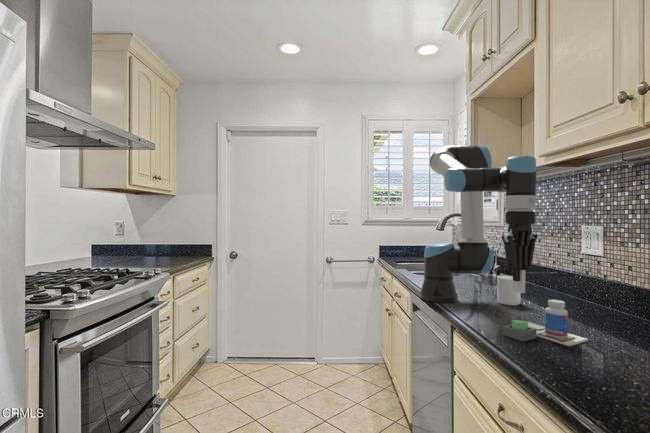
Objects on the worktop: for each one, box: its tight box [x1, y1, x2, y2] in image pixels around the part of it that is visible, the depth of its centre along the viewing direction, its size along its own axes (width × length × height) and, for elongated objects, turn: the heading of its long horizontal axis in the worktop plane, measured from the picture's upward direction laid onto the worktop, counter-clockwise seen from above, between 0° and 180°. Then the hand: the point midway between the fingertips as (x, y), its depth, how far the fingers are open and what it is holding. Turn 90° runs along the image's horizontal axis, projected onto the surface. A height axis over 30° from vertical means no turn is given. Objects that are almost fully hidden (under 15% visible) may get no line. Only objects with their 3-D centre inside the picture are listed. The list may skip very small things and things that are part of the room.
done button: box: [511, 319, 528, 331], centre depth 99 cm, size 4×4×4 cm
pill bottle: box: [544, 299, 569, 338], centre depth 97 cm, size 6×5×10 cm
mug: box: [496, 275, 522, 306], centre depth 139 cm, size 12×8×10 cm
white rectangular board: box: [526, 321, 589, 347], centre depth 101 cm, size 17×9×1 cm, turn 26°
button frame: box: [502, 323, 537, 342], centre depth 99 cm, size 6×6×3 cm
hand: (519, 291), depth 99 cm, fingers closed
